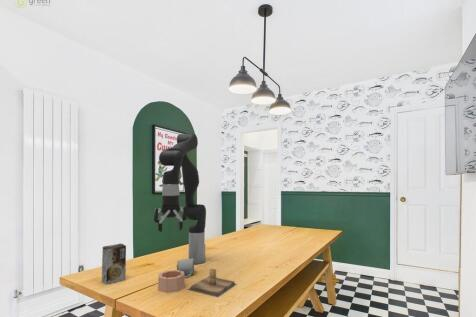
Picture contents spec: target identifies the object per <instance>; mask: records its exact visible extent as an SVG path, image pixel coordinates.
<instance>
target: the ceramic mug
mask: <svg viewBox="0 0 476 317" xmlns="http://www.w3.org/2000/svg"><path fill="white" fill-rule="evenodd" d="M176 270H179V271H184V279H188V278H190V277H191V276H193V275H194V273H195V264H194V259H189V258H186V259H180V260H178V261H177V264H176Z"/></svg>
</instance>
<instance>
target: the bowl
mask: <svg viewBox="0 0 476 317" xmlns="http://www.w3.org/2000/svg"><path fill="white" fill-rule="evenodd" d="M184 276H185V275H184V271H179V270H177V269H172V270H165V271H162V272H159V273H158V276H157V277H158V281H157V282H158V284H157V285H158V286H157V291H158V292H162V293H166V294H167V293H174V292H179V291H181V290H183V289H184V288H185V278H184Z"/></svg>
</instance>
